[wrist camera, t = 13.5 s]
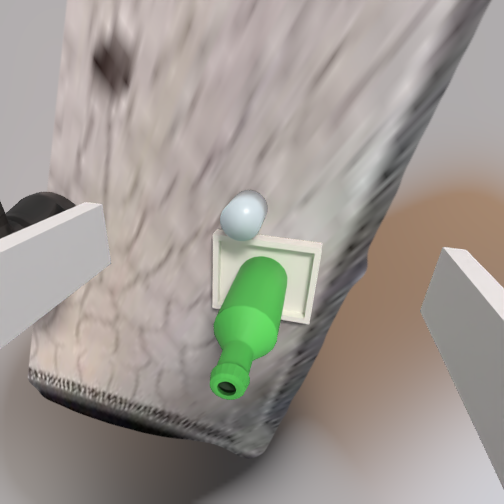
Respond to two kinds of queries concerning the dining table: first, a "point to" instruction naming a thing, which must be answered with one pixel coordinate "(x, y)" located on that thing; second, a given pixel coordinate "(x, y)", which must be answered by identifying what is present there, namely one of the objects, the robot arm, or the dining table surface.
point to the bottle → (247, 323)
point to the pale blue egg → (244, 215)
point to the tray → (281, 250)
